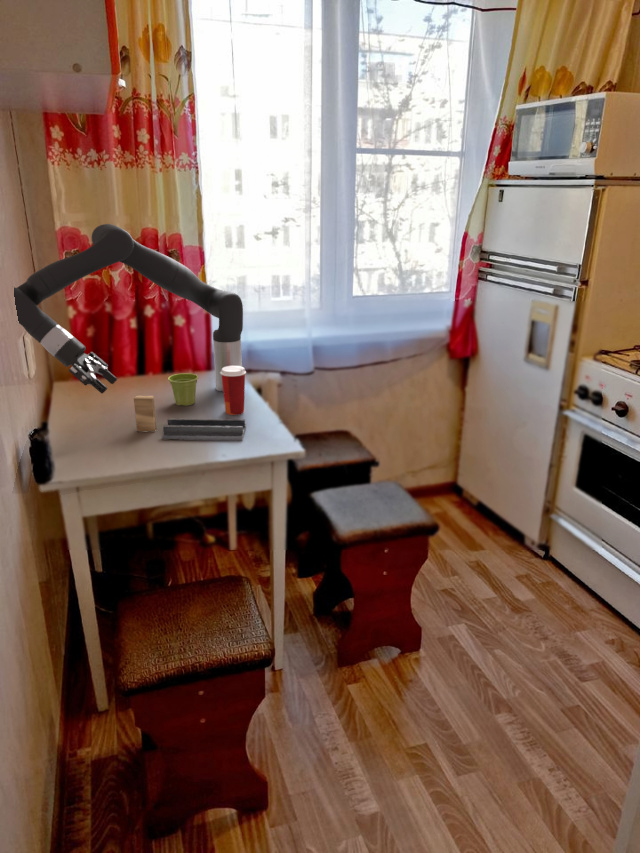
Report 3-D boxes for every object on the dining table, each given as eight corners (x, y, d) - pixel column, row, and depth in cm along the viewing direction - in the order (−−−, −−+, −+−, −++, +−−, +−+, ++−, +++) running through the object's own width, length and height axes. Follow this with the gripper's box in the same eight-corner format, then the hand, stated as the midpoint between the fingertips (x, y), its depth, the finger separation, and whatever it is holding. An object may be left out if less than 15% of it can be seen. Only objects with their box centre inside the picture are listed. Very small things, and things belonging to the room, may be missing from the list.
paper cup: (251, 409, 192) (250, 366, 187) (240, 417, 185) (238, 373, 180) (229, 406, 194) (227, 364, 189) (217, 414, 188) (215, 370, 183)
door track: (170, 426, 178) (169, 416, 177) (246, 427, 178) (245, 417, 177) (162, 439, 168) (161, 428, 167) (242, 440, 168) (241, 429, 167)
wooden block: (139, 428, 176) (136, 395, 172) (156, 428, 176) (153, 395, 172) (137, 431, 174) (133, 398, 170) (154, 431, 174) (151, 398, 170)
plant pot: (177, 410, 191) (175, 383, 188) (165, 401, 198) (163, 376, 195) (204, 404, 196) (203, 378, 193) (192, 396, 203) (190, 371, 200)
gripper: (61, 342, 158) (110, 385, 163) (81, 330, 172) (126, 370, 176) (43, 362, 160) (93, 403, 165) (65, 348, 174) (110, 387, 178)
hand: (110, 386), depth 170 cm, fingers open, 8 cm apart
